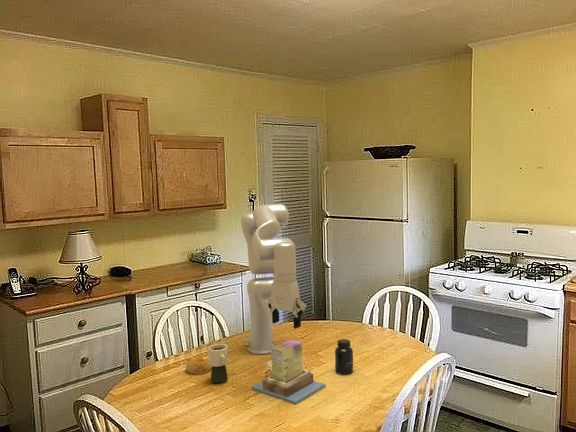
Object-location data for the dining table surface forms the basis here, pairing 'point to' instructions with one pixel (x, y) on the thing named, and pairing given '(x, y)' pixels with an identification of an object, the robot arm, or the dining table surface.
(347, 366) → the supplement bottle
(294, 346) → the box
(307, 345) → the dining table surface
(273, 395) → the board
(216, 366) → the character mug
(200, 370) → the bagel
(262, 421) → the dining table surface
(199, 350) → the dining table surface
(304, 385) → the tray
